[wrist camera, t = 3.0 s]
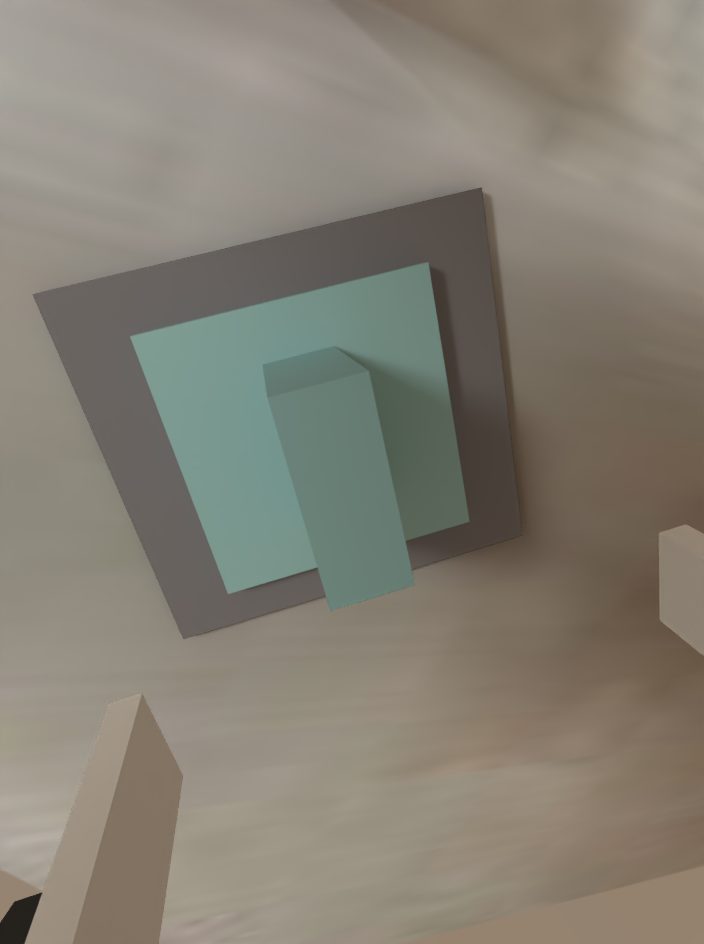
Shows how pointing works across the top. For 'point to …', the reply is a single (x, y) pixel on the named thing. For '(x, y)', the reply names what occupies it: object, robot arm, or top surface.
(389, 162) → the top surface
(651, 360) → the top surface
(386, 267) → the mat
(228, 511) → the lid
